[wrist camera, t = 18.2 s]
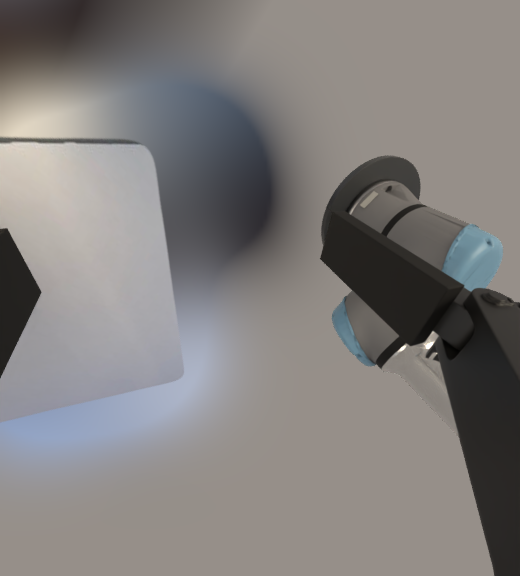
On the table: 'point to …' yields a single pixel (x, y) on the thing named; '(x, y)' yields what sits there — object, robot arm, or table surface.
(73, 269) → the table surface
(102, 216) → the table surface
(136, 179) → the table surface
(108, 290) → the table surface
